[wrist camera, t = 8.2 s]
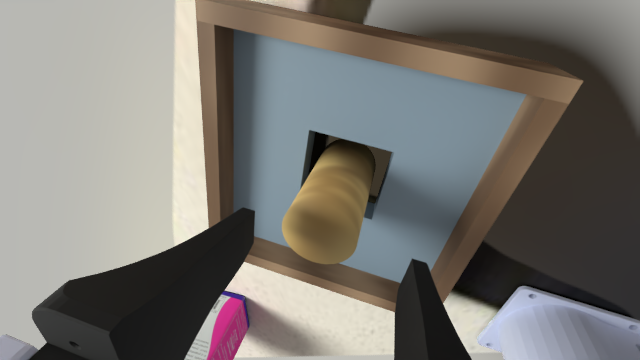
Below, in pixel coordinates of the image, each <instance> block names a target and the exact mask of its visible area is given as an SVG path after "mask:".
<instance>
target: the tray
mask: <svg viewBox="0 0 640 360" xmlns="http://www.w3.org/2000/svg"><path fill="white" fill-rule="evenodd" d="M195 2H196V19H197V36H198V53H199V69H200V86H201V103H202V120H203V137H204V153H205V170H206V187H207V204H208V220H209V228H210V227H212V226H213V225H215V224H217V223H218V222H220V221H221V220H223V219H225V218H226V217H228V216H229V215H231V214H233V208H234V29H237V30H241V31H246V32H250V33H255V34H259V35H264V36H268V37H272V38H277V39H281V40H286V41H290V42H295V43H299V44H304V45H308V46H313V47H317V48H322V49H326V50H330V51H335V52H339V53H344V54H348V55H353V56H357V57H362V58H366V59H371V60H375V61H380V62H384V63H389V64H393V65H397V66H402V67H406V68H411V69H415V70H420V71H424V72H429V73H433V74H438V75H442V76H447V77H451V78H456V79H460V80H464V81H469V82H473V83H478V84H482V85H487V86H491V87H496V88H500V89H505V90H509V91H514V92H518V93H522V94H527V95H526V97H525V98H524V100H523V102H522V104H521V106H520V108H519V109H518V111H517V113H516V115H515V117H514V119H513V121H512V122H511V124H510V126H509V128H508V130H507V132H506V133H505V135H504V137H503V139H502V141H501V143H500V144H499V146H498V148H497V150H496V152H495V154H494V155H493V157H492V159H491V161H490V163H489V165H488V167H487V168H486V170H485V172H484V174H483V176H482V178H481V179H480V181H479V183H478V185H477V187H476V189H475V190H474V192H473V194H472V196H471V198H470V200H469V202H468V203H467V205H466V207H465V209H464V211H463V213H462V214H461V216H460V218H459V220H458V222H457V224H456V225H455V227H454V229H453V231H452V233H451V235H450V237H449V238H448V240H447V242H446V244H445V246H444V248H443V249H442V251H441V253H440V255H439V257H438V259H437V260H436V262H435V264H434V266H433V268H432V270H431V271H430V272H431V275H432V278H433V281H434V283H435V286H436V288H437V291H438V293H439V296H440V298H441V301H442V303H443V302H444V301H445V299H446V298H447V296H448V295H449V293H450V291H451V290H452V288H453V287H454V285H455V283H456V282H457V280H458V279H459V277H460V276H461V274H462V272H463V271H464V269H465V268H466V266H467V265H468V263H469V261H470V260H471V258H472V257H473V255H474V253H475V252H476V250H477V249H478V247H479V246H480V244H481V242H482V241H483V239H484V238H485V236H486V234H487V233H488V231H489V230H490V228H491V227H492V225H493V223H494V222H495V220H496V219H497V217H498V215H499V214H500V212H501V211H502V209H503V208H504V206H505V204H506V203H507V201H508V200H509V198H510V197H511V195H512V193H513V192H514V190H515V189H516V187H517V185H518V184H519V182H520V181H521V179H522V178H523V176H524V174H525V173H526V171H527V170H528V168H529V167H530V165H531V163H532V162H533V160H534V159H535V157H536V155H537V154H538V152H539V151H540V149H541V148H542V146H543V144H544V143H545V141H546V140H547V138H548V137H549V135H550V133H551V132H552V130H553V129H554V127H555V125H556V124H557V122H558V121H559V119H560V117H561V116H562V114H563V113H564V111H565V109H566V108H567V106H568V105H569V103H570V102H571V100H572V98H573V97H574V95H575V94H576V92H577V91H578V89H579V87H580V86H581V84H582V83H583V80H581V79H579V78H577V77H575V76H573V75H571V74H569V73H567V72H565V71H563V70H561V69H559V68H557V67H555V66H553V65H551V64H549V63H546V62H541V61H536V60H531V59H526V58H521V57H517V56H512V55H507V54H502V53H497V52H493V51H488V50H483V49H479V48H474V47H469V46H464V45H459V44H455V43H450V42H445V41H440V40H435V39H430V38H426V37H421V36H416V35H412V34H407V33H402V32H397V31H392V30H387V29H383V28H378V27H373V26H368V25H364V24H359V23H354V22H349V21H344V20H340V19H335V18H330V17H325V16H321V15H316V14H311V13H306V12H301V11H297V10H292V9H287V8H282V7H277V6H273V5H268V4H263V3H258V2H253V1H249V0H195ZM244 262H247V263H250V264H253V265H256V266H259V267H262V268H265V269H268V270H271V271H274V272H277V273H280V274H283V275H286V276H289V277H292V278H295V279H298V280H300V281H303V282H306V283H309V284H312V285H315V286H318V287H321V288H324V289H327V290H330V291H333V292H336V293H339V294H342V295H345V296H348V297H351V298H354V299H357V300H360V301H363V302H366V303H369V304H372V305H375V306H378V307H381V308H384V309H387V310H390V311H393V312H395V308H396V300H397V293H398V288H399V286H400V284H401V283H399V282H396V281H392V280H389V279H386V278H383V277H380V276H377V275H374V274H371V273H368V272H364V271H361V270H358V269H355V268H352V267H349V266H346V265H343V264H340V263H336V264H320V263H315V262H312V261H309V260H307V259H305V258H303V257H301V256H300V255H298V254H297V253H296V252H295V251H294V250H293V249H292V248H290V247H287V246H284V245H280V244H277V243H274V242H271V241H268V240H265V239H262V238H259V237H255V236H254V243H253V245H252V247H251V249H250V251H249V253H248V255H247V257H246V259H245V261H244Z"/></svg>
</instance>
